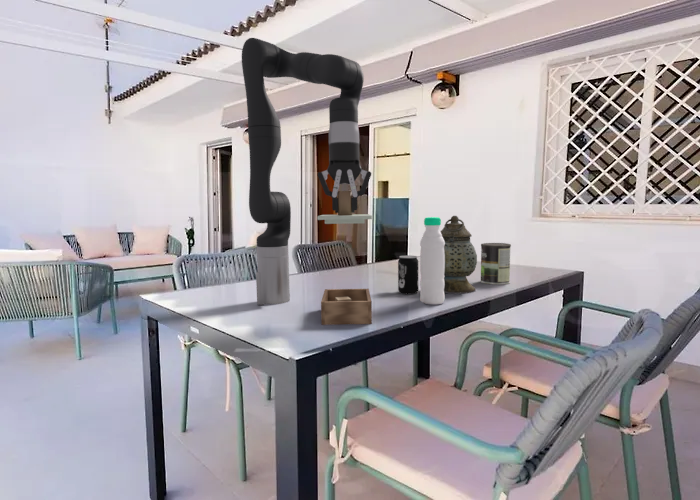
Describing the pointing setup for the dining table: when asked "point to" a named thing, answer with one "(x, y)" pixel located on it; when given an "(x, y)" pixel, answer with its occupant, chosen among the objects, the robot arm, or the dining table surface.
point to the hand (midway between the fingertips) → (345, 212)
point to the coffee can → (495, 263)
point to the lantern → (458, 257)
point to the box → (346, 307)
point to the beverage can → (408, 274)
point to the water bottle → (432, 263)
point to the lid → (344, 211)
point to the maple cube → (342, 299)
